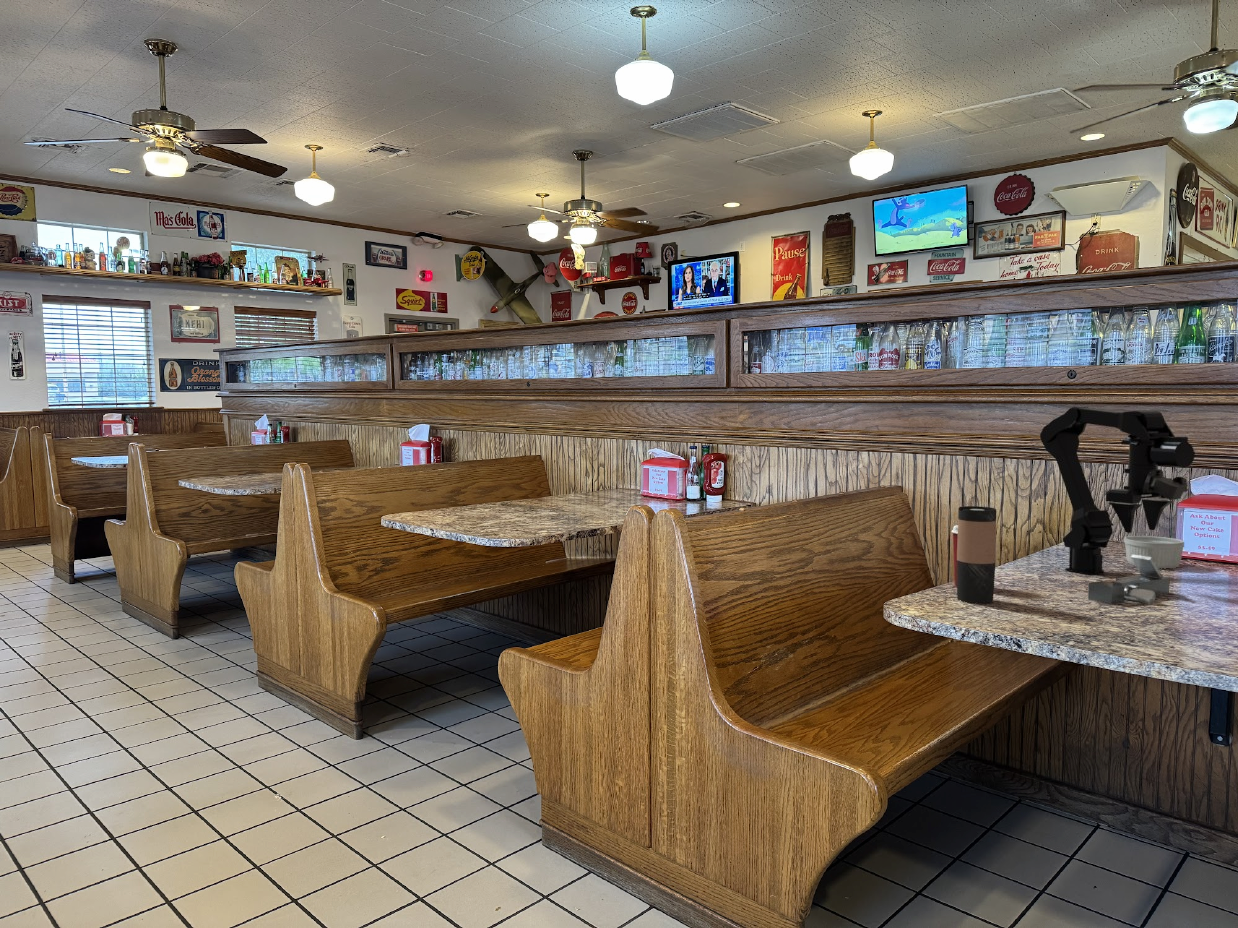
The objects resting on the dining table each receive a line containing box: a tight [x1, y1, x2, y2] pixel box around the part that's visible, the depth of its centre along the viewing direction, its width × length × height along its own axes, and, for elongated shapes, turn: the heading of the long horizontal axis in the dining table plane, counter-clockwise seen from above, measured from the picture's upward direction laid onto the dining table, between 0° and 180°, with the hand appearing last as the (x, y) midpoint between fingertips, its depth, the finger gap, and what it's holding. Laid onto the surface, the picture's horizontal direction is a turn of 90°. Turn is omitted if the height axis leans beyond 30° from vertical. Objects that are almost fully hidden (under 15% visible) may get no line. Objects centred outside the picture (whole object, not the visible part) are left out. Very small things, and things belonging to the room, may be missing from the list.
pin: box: [1103, 579, 1156, 605], centre depth 175 cm, size 10×7×3 cm
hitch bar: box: [1087, 574, 1171, 605], centre depth 177 cm, size 5×21×4 cm, turn 117°
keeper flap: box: [1131, 554, 1164, 578], centre depth 180 cm, size 4×1×6 cm
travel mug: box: [956, 505, 997, 605], centre depth 174 cm, size 8×8×20 cm
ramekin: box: [1123, 535, 1185, 570], centre depth 213 cm, size 13×13×7 cm
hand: (1140, 531), depth 189 cm, fingers open, 9 cm apart
